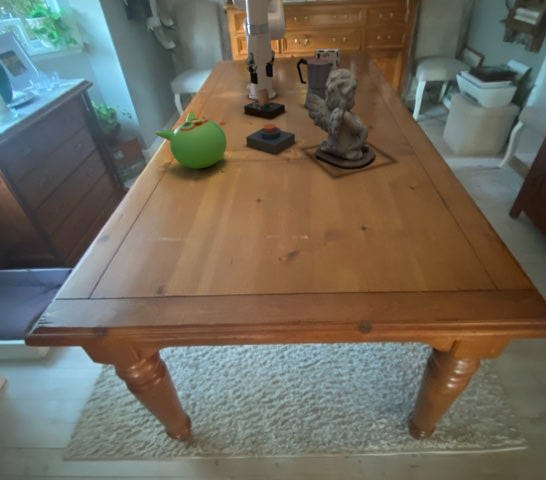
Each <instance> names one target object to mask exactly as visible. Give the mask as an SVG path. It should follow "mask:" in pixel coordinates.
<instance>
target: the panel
mask: <svg viewBox="0 0 546 480" xmlns="http://www.w3.org/2000/svg"><path fill="white" fill-rule="evenodd" d="M243 110H244V111H243V112H244V114H245V115H249V116H253V117H258V118H262V119H265V120H266V119H267V120H272V119H273V120H274V118H277V117H278V116H280V115H282V114H284V113H286V105H285V104H283V103H278V102H273V101H269V106H267V107H260V106H259V100H255V101H253V102H249V103H248V104H245V105H244V106H243Z"/></svg>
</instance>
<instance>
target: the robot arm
mask: <svg viewBox="0 0 546 480" xmlns="http://www.w3.org/2000/svg"><path fill="white" fill-rule="evenodd" d="M231 1H232V4H233V6H234V8H235V9H237V10H239V11H241V10H242V11H243V10H244V11H245V12H246V16H245V17H244V19H243V22H242V23H243V25H242V27H243V32H244V36H245V37H244V38H245V41H246V60H245V61H244V65H245V67H246V70H247V71H248V73H249V79H250V83H248V84H247V86H246V90H248V91H249V94H248V97H249V98H250V99H251V100H255V101H257V100H258V91H259V90H264V89H267V90H268V91H269V100H271V99H273V98H275V97H276V95H277V94H276V93H277V92H275V90H273V82H272V81H273V80H272V78H273V77H274V68H273V67H274V66H275V65H274V62H275V57H276V50H274V49H273V48H272V41H281V40H282V39H284V37H285V36H286V30H287V29H286V28H287V27H286V20H285V18H286V17H285V9H284V2H283V0H231Z"/></svg>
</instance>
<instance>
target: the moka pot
mask: <svg viewBox="0 0 546 480" xmlns="http://www.w3.org/2000/svg"><path fill="white" fill-rule="evenodd" d="M320 56H321V54H319V53H318V54H317V58H315V57H314V58H311V59H309V58H300V59H299V61H298V62H297V63H296V69H297V72H298V77H299V81H300V84H303V85H306V84H307V90H306V96H305V103H304V106H305V107H306V108H307V103H308V95H309V94H314V95H316V96H318V97H320V98H321V99H323V100H325V101H326V96H325V94H326V90H325V85H326V82H327V77H328V74H329V72H330V70H331V68H332V66H333V65H334V63H333V62H331V61H329V60H327V59H322V58H320ZM301 64H302V65H304V66H306V75H307V81H305V80H304V79H303V74H302V71H301Z"/></svg>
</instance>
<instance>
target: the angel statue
mask: <svg viewBox="0 0 546 480" xmlns="http://www.w3.org/2000/svg"><path fill="white" fill-rule="evenodd" d="M358 81H359V80H358V77H357V76H356V75H355V74H354V72H352V71H351V70H349V69H348V68H345V67H344V68H340V69H337V70H334V71H333V72H331V74H330V76H329V77H328V80H327V82H326V90H325V100H323V99H321V98H320V97H318V96H316V95H314V94H309V95H308V103H307V107H306V109H307V110H308V117H309V118H310V119H311V120H313V124H314V126H316V127H319V129H320V130H322V131H324V132H325V133H327V138H326V139H325V140H323V141H322V143H321V144H319V146H318V147H317V148H316V150H315V152H314V158H315V159H317V160H319V161H321V162H323V163H325V164H328V165H329V166H330V165H331V166H333V167H336V168H339V169H341V170H359V169H364V168H366V167H369V166H370V165H371V164H372V163H374V162H375V161H376V157H377V155H376V152H375V150H373V149H372V147H371V146H370V145H369V144H367V143H366V142H365V141H366V140H367V139H368V137H369V129H368V127H367V125H364V122H363V121H362V119H361V117H359V116H358V115H357V113H355V112H353V111H351V110H352V109H353V108H354V107H355V105H356V100H355V96H356V90H357V88H358Z"/></svg>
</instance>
